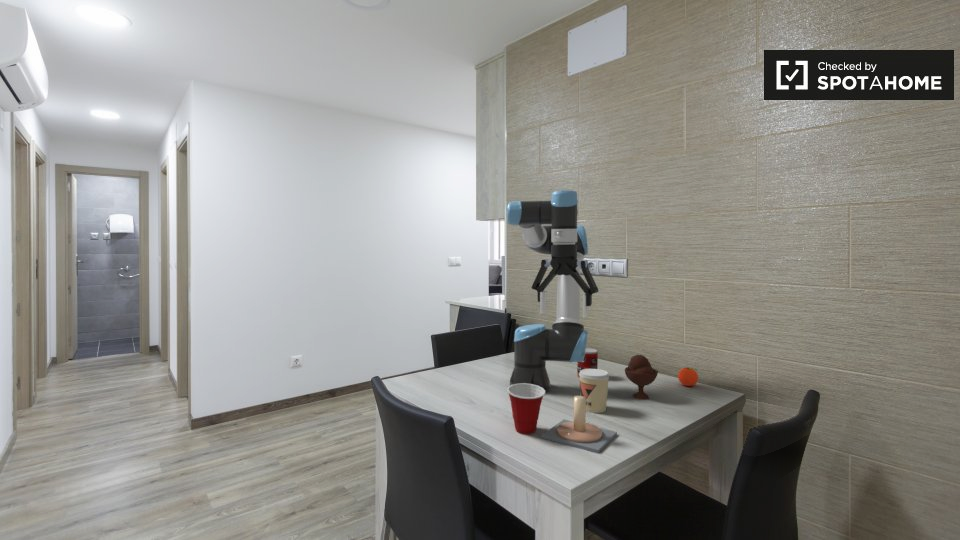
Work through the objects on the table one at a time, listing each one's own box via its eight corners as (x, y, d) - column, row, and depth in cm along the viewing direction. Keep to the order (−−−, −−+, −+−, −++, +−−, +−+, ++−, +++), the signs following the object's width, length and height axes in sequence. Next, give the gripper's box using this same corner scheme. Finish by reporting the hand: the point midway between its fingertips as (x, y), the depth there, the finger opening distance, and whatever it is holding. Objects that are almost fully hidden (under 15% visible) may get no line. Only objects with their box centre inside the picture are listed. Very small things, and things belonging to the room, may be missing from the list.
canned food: (576, 374, 186) (576, 347, 185) (596, 374, 185) (596, 348, 184) (577, 379, 178) (578, 351, 178) (598, 380, 177) (598, 352, 177)
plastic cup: (518, 441, 120) (518, 396, 119) (500, 426, 130) (500, 385, 129) (552, 434, 124) (553, 391, 124) (533, 421, 134) (533, 381, 134)
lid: (549, 435, 121) (550, 399, 121) (568, 421, 131) (568, 388, 131) (592, 446, 114) (592, 408, 114) (608, 431, 124) (609, 396, 124)
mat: (541, 437, 122) (541, 434, 122) (563, 421, 133) (563, 419, 133) (598, 453, 112) (598, 450, 112) (616, 434, 124) (616, 431, 124)
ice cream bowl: (660, 402, 150) (661, 358, 149) (626, 400, 152) (626, 357, 152) (654, 393, 160) (655, 351, 160) (622, 391, 163) (623, 350, 162)
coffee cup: (573, 406, 147) (573, 370, 146) (596, 402, 151) (596, 367, 150) (590, 415, 138) (591, 377, 138) (614, 411, 142) (615, 374, 141)
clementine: (690, 382, 174) (690, 364, 174) (704, 387, 167) (704, 368, 167) (673, 384, 171) (674, 365, 171) (687, 389, 165) (687, 370, 164)
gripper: (520, 243, 136) (520, 312, 137) (601, 244, 122) (600, 321, 123) (532, 243, 142) (532, 309, 143) (610, 243, 128) (609, 316, 129)
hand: (563, 315), depth 133 cm, fingers open, 13 cm apart
